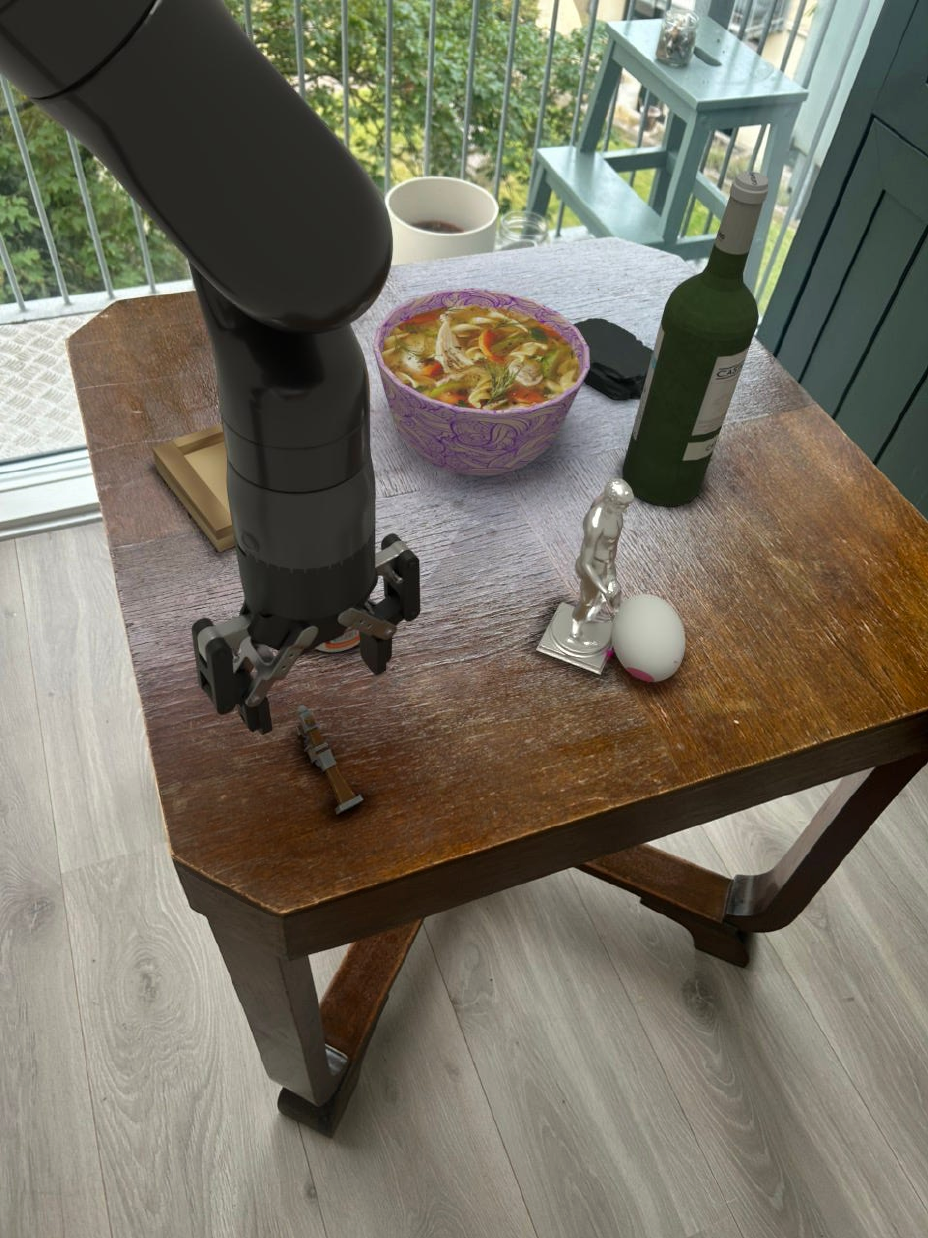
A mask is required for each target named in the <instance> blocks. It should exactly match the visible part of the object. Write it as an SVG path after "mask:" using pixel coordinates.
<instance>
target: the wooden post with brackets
mask: <svg viewBox="0 0 928 1238" xmlns="http://www.w3.org/2000/svg"><path fill="white" fill-rule="evenodd" d="M297 713H298V716H297V719H298V720H299V722H300V724H298V725H296V727H295V733H296V734H297V736H302V737H303V738H305V740H304V742H303V743H304V744H306V745H307V746H306V747H305V749H304V750H303V751H304V752H307V753H308V756H309V759H310V762H311V764H313V763H315V766H317V767H318V768H321V771H322V772H325V775H326V777H327V779H328V782H329V784H330V786H331V788H332V791H333V794H334V796H335V800H336V802H337V807H336V808H334V810H335V812H336V813H335V814H336V815H338V814H340V813H342V812H344V811H347V810H348V809H350V808H352V807H354V806H356V805H358V804H359V803H361V802H362V801H363V800H364V798H363V797H362V796H361V794H358V795H356V794H355V793H354V792H353V791H352V790H351V788H350V787H349V785H348V784H347V782H346V780H345V779H344V777H343V776H342V774H341V773H340V771H339V769H338V768H337V764H338V763H337V761H336V760H335V758H334V756H333V754H332V750H331V748H329V749H328V747H329V744H328V742H327V741H325V740H324V738H323V736H322V733H321V732H320V730H319V726H320V724H319V722H318V721H317V719H316V717H315V715H314V712H313V709H308V707H307V706H306V705H302V704H301V705H299V707H298V708H297ZM304 734H306V735H304Z"/></svg>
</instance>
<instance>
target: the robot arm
mask: <svg viewBox="0 0 928 1238" xmlns="http://www.w3.org/2000/svg"><path fill="white" fill-rule="evenodd" d="M0 75H1V76H2V77H4V78H5V79H6V80H7V81H8V82H9V83H10V84H11V85H12V86H13V87H15V89H17V90H18V91H19V92H20V93H21V94H22V95H23V96H25V97H26V99H28V101H30V102H31V103H32V104H33V105H35V107H37V108H38V109H39V110H41V112H43V114H45V115H46V116H47V117H49V118H50V119H51V120H52V121H54V122H55V123H56V124H58V125H59V126H60V127H62V129H64V130H65V131H67V132H68V133H69V134H70V135H71V136H72V137H73V138H75V139H76V140H77V141H78V142H79V143H80V144H81V145H82V146H84V148H85V149H87V151H88V152H90V154H92V155H93V157H95V159H97V160H98V161H99V162H100V164H102V165H103V167H105V169H106V170H107V171H108V172H109V173H110V174H111V175H112V177H113V178H114V179H115V180H116V181H117V182H118V183H119V185H120V186H121V187H122V188H123V189H124V190H125V192H126V193H127V194H128V195H129V196H130V197H131V199H132V200H133V201H134V202H135V203H136V204H137V205H138V207H139V208H140V209H141V210H142V211H143V212H144V213H145V214H146V215H147V217H148V218H149V219H150V220H151V221H152V222H153V223H154V224H155V226H157V228H158V229H159V230H160V231H161V232H162V233H163V234H164V236H165V237H167V239H168V240H169V241H170V242H171V243H172V244H173V245H174V247H176V249H177V250H178V251H179V252H180V253H181V254H182V255H183V256H184V257H185V259H187V263H188V266H189V267H188V268H189V271H190V274H191V279H192V281H193V286H194V290H195V293H196V296H197V300H198V304H199V308H200V311H201V315H202V319H203V321H204V325H205V327H206V331H207V334H208V337H209V338H208V339H209V341H210V345H211V351H212V355H213V360H214V366H215V371H216V384H217V398H218V407H219V414H220V420H221V421H220V422H221V423H222V428H223V435H224V441H225V448H226V455H227V474H226V485H227V494H228V502H229V508H230V514H231V521H232V527H233V534H234V540H235V547H234V548H235V551H236V558H237V566H238V571H239V578H240V583H241V587H242V591H243V597H244V598H243V603H242V605H241V608H240V609H239V614H238V616H235V617H233V618H231V619H228V620H225V621H223V622H221V623H217V624H216V625H215V624H214V622H213V621H212V620H211V619H210V618H209V617H202V618H199V619H198V620H196V621H195V622H194V623H193V624H192V626H191V629H190V630H191V636H192V637H191V638H192V644H193V652H194V653H193V654H194V660H195V668H196V675H197V681H198V682H197V683H198V685H199V687H200V689H201V690H202V691H203V692H204V693H205V694H206V696H207V697H208V699H209V700H210V702H211V704H212V706H213V708H214V709H215V711H216V712H217V714H218V715H220V716H221V715H222V716H225V715H227V714H229V713H231V712H233V711H234V709H235V708H236V710H237V714H238V715H239V718H240V719H241V720H242V722H243V723H244V725H245V726H246V728H247V729H248V730H249V731H250V732H251V733H254V732H256V731H258V733H259V734H260V736H265V735H267V734H268V733H271V732H273V722H272V715H271V709H270V701H269V698H268V697H267V695H268V693H269V691H270V690H271V689H272V687H273V686H274V684H275V682H276V681H284V680H285V679H286V677H287V676H288V674H289V673H290V671H291V670H292V668H293V666H294V665H295V664H296V662H297V660H298V659H299V657H302V656H304V655H306V654H309V653H311V652H312V651H313V650H316V649H315V648H316V647H317V646H319V645H320V644H322V643H325V642H329V641H332V640H335V639H337V638H339V637H341V636H343V635H344V631H345V630H346V629H347V628H349V627H352V628H354V629H356V630H358V631H360V642H359V656H360V658H361V660H362V661H363V663H364V664H365V666H367V667H368V669H369V670H370V671H371V672H372V673H373V675H374V676H376V677H378V676H379V675H381V674H383V673H385V672H387V663H389V662H390V661H391V659H392V657H393V637H394V636H395V635H396V633H397V631H398V627H397V626H398V625H399V624H400V623H401V622H402V621H405V622H406V623H411V622H413V621H414V620H416V619H417V618H418V617H419V615H420V614H421V573H420V572H421V571H420V569H421V567H420V558H419V557H418V556H417V555H416V554H415V553H414V552H413V550H411V549H410V548H409V546H408V545H407V544H406V543H405V541H403V539H401V538H400V537H399V536H398V534H397V533H395V532H392V533H388V534H387V535H385V536H384V537H383V538H382V540H381V542H380V551H377V552H376V544H377V543H376V538H377V537H376V533H377V532H376V531H377V530H376V499H377V492H376V490H377V489H376V475H375V468H374V463H373V458H372V457H373V456H372V449H371V448H372V447H371V386H370V385H371V384H370V383H371V382H370V374H369V370H368V367H367V366H368V365H367V361H366V357H365V354H364V352H363V348H362V347H361V344H360V342H359V339H358V338H357V336H356V333H355V332H354V330H353V328H352V323H353V322H355V321H357V320H358V319H360V318H361V317H362V316H363V315H364V314H366V313H367V311H368V310H370V308H372V307H373V305H374V304H375V302H376V301H377V300H378V298H379V296H380V295H381V293H382V291H383V289H384V288H385V285H386V283H387V281H388V278H389V275H390V272H391V267H392V262H393V254H394V234H393V228H392V227H393V226H392V222H391V217H390V213H389V210H388V206H387V204H386V202H385V199H384V196H383V195H382V193H381V190H380V189H379V187H378V185H377V184H376V182H375V180H374V179H373V178H372V177H371V175H370V174H369V173H368V171H367V170H366V169H365V168H364V167H363V165H362V164H361V163H360V161H358V159H357V158H356V157H355V156H354V155H353V154H352V153H351V151H350V150H349V149H348V147H347V146H346V145H345V144H344V142H343V141H342V140H341V139H340V138H339V137H338V135H337V134H336V133H335V132H334V131H333V130H332V128H331V127H330V126H329V125H328V123H327V122H326V121H325V120H324V119H323V118H322V117H321V116H320V114H319V113H318V112H317V111H316V110H315V109H314V108H313V107H311V105H309V103H307V102H306V101H305V99H304V98H303V97H302V95H301V94H299V92H297V90H296V89H295V88H294V87H293V86H292V84H290V82H289V81H288V80H287V79H286V78H285V77H284V76H283V74H282V73H281V71H279V70H278V69H277V68H276V67H275V65H274V64H273V63H272V62H271V61H270V60H269V58H268V57H267V56H266V55H265V54H264V53H263V52H262V51H261V49H259V47H258V46H257V45H256V44H255V43H254V42H253V41H252V39H251V38H250V37H249V36H248V35H247V34H246V32H245V31H244V29H243V28H242V27H241V25H240V24H239V23H238V21H237V19H236V18H235V17H234V16H233V14H232V12H231V11H230V10H229V7H228V6H227V5H226V3H225V2H224V0H0ZM379 577H382V581H383V582H382V583H383V584H382V585H383V594H384V598H383V599H381V600H380V601H379V602H378V603H377V602H375V600H372V599H371V598H370V599H368V598H369V596H370V597H371V595H372V593H373V592H374V590H375V588H376V587H377V584H378V583H379ZM270 649H273V650H275V651H277V653H276V654H274V653H273V652H272V651H271V650H270ZM239 651H240V653H239ZM238 653H239V655H238ZM254 668H255V670H256V673H255V677H254V676H253V675H252V674H251V673H252V672H253V671H254Z"/></svg>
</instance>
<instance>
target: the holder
mask: <svg viewBox="0 0 928 1238" xmlns="http://www.w3.org/2000/svg"><path fill="white" fill-rule="evenodd" d="M151 450H152V454H153V459H154V464H155V469H156V471H157V472H158V473H159V475H160V476H161V477H162V479H163V480H164V481H165V483H166V484H167V485H168V486H169V488H170V490H171V491H172V492H173V494H174V495H175V496H176V497H177V499H178V500H179V501H180V503H181V504H182V505H183V507H184V508H185V509H186V510H187V512H188V513H189V515H190V516H191V517H192V518H193V519H194V521H195V522H196V524H197V525H198V526H199V528H200V529H201V530H202V531H203V533H204V534H205V536H206V537H207V538H208V539H209V541H210V542H211V544H212V545H213V546H214V547H215V549H216V550H217V552H219V553H222V552H224V551H227V550H230V549H232V548H236V547H235V540H234V534H233V527H232V521H231V514H230V508H229V502H228V494H227V485H226V474H227V455H226V448H225V441H224V435H223V428H222V422H221V423H218V424H215V425H213V426H209V427H207V428H204V429H201V430H198V431H195V432H192V433H189V434H186V435H183V436H179V437H177V438H174V439H172V440H168V441H166V442H163V443H160V444H158V445H154V446H152V447H151Z"/></svg>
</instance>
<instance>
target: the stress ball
mask: <svg viewBox="0 0 928 1238" xmlns="http://www.w3.org/2000/svg"><path fill="white" fill-rule="evenodd" d="M663 597H664V595H662V596H661V597H659V596H658V595H654V594H650V593H639V594H634V595H632V596H630V597H628V598H627V599H625V600H623V602H622V603H620V605H619V607H620V609H619V608H618V609H619V610H620V611H618V610H617V611H618V612H619V613H617V612H616V614H615V613H614V616H613V620H612V621H613V624H612V642H613V649H612V650H611V651H608V650H607V660H609V659H610V657H611V656H612V654H613V653H615V655H616V657H617V659H618V661H619V663H620V664H621V665H622V666H623V668H624V669H625V670H626V671H627V672H628V673H629V674H631V676H633V677H635V678H636V679H639V680H641V681H644V682H649V683H658V682H661V681H665V680H667V679H668V678H670V677H671V676H673V675H674V674H675V673H676V672H677V671H678V669H679V668H680V666H681V665H682V663H683V660H684V657H685V652H686V644H687V643H686V641H687V640H686V633H685V629H684V625H683V623H682V620H681V618H680V616H679V615H678V613H677V611H675V609H674V608H673V607H672V606H671V604H670V603H669V602H667V601H666V600H664V599H663Z"/></svg>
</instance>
